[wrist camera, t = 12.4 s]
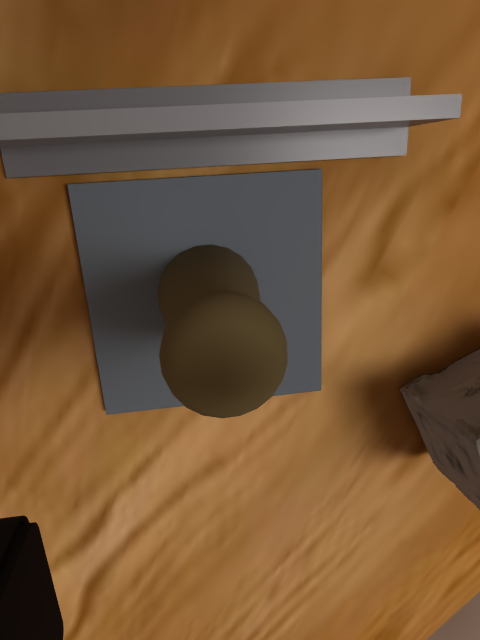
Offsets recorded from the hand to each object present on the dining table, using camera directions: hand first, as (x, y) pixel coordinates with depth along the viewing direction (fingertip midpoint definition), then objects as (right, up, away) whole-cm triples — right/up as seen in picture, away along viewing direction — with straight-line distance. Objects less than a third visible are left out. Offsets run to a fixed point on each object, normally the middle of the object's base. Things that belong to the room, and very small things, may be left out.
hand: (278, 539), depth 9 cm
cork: (-3, +6, +18) cm, 19 cm away
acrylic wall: (-2, +15, +16) cm, 22 cm away
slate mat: (-3, +6, +19) cm, 20 cm away
